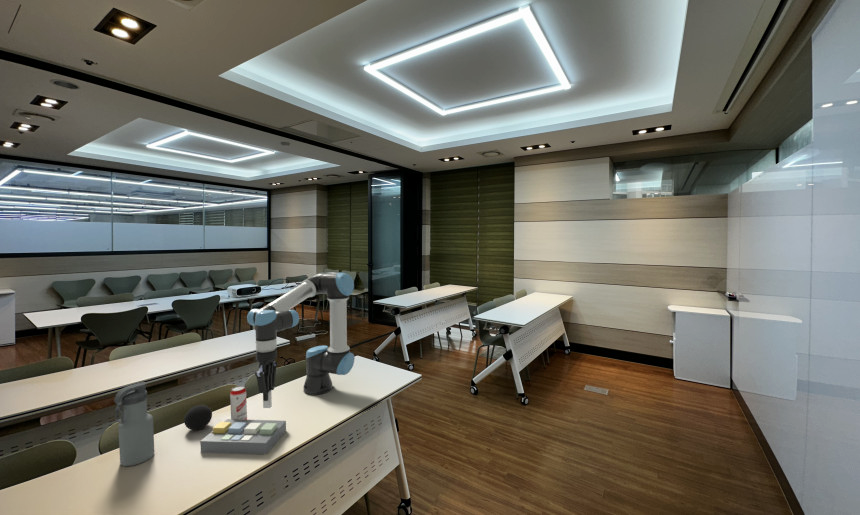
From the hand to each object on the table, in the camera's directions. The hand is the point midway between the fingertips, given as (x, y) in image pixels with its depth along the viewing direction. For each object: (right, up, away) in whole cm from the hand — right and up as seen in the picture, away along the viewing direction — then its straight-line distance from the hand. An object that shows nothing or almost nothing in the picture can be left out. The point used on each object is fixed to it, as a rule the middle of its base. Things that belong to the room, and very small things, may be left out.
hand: (267, 407), depth 136 cm
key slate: (-13, -10, +1) cm, 17 cm away
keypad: (-10, -15, +1) cm, 17 cm away
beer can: (-20, -14, +15) cm, 29 cm away
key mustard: (-19, -10, +2) cm, 22 cm away
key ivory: (-6, -10, +1) cm, 12 cm away
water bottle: (-44, -15, -10) cm, 48 cm away
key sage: (0, -10, +1) cm, 10 cm away
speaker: (-35, -14, +11) cm, 39 cm away
